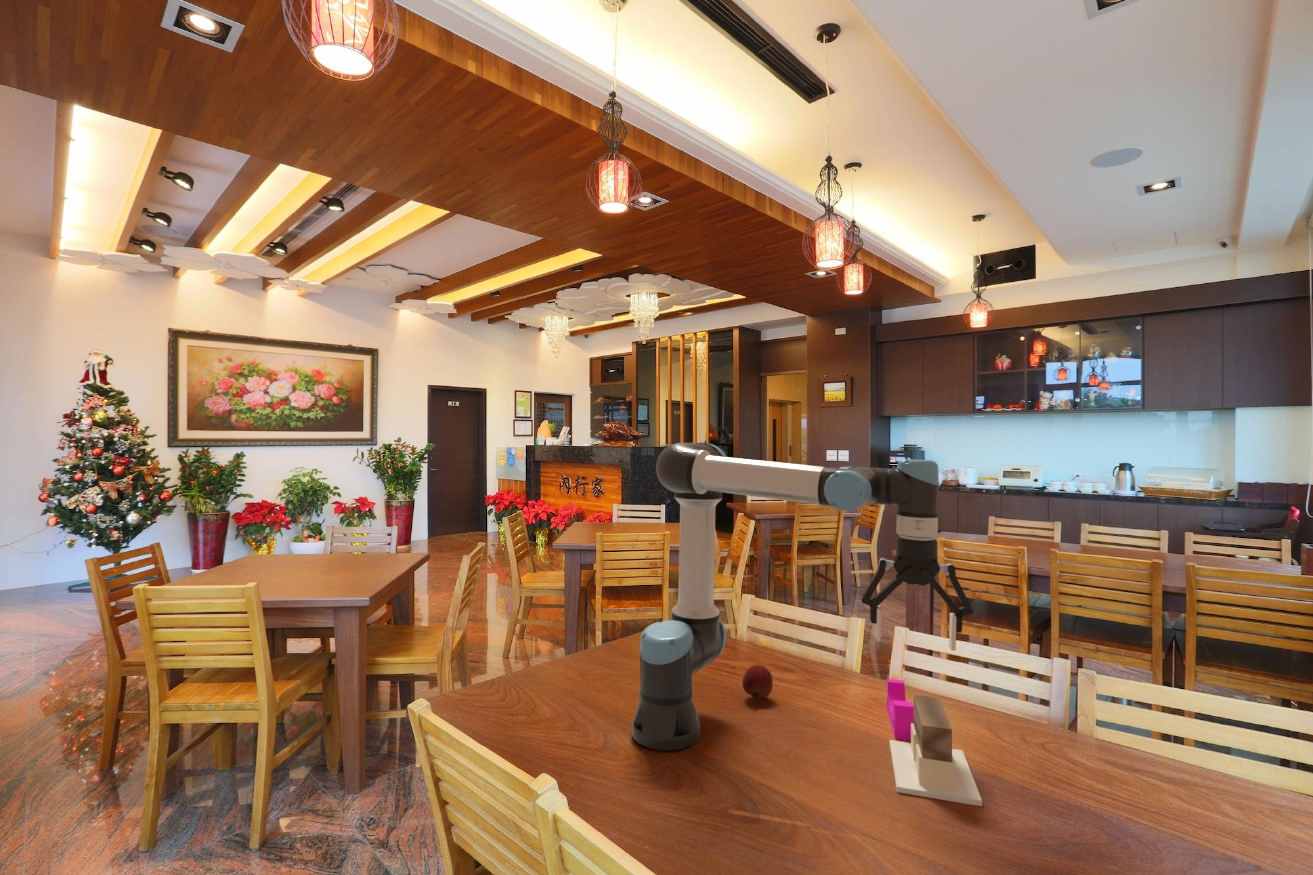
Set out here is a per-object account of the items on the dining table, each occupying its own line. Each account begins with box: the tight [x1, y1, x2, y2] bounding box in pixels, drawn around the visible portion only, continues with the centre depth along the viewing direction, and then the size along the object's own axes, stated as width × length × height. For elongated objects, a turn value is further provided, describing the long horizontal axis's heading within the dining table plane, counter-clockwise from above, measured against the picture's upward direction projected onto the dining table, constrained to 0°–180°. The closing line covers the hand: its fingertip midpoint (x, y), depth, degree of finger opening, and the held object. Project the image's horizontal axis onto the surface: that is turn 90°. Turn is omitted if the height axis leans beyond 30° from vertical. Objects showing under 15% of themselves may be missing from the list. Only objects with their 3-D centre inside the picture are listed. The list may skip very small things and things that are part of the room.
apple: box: [742, 664, 774, 699], centre depth 149 cm, size 7×8×8 cm
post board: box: [889, 723, 983, 807], centre depth 115 cm, size 14×18×6 cm
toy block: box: [886, 678, 914, 742], centre depth 135 cm, size 15×6×8 cm, turn 165°
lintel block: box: [913, 694, 953, 762], centre depth 115 cm, size 5×14×6 cm, turn 162°
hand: (914, 644), depth 117 cm, fingers open, 13 cm apart
